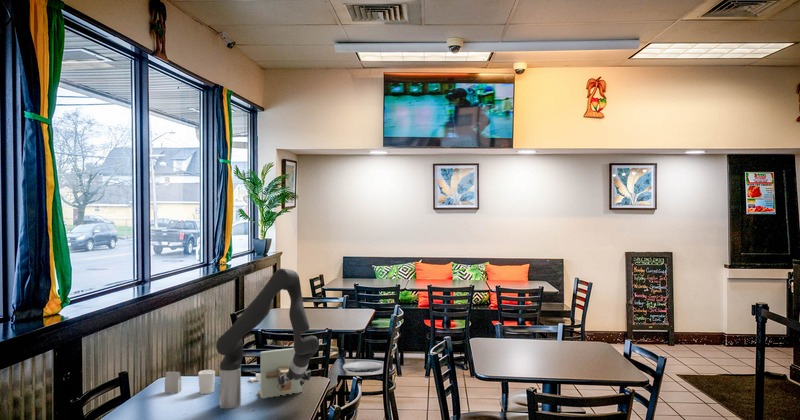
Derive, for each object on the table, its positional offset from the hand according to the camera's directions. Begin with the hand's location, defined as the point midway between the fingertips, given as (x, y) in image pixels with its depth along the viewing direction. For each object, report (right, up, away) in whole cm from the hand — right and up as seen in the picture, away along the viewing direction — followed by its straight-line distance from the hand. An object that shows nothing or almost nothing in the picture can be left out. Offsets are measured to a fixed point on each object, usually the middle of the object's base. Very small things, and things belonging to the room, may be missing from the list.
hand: (291, 385), depth 258 cm
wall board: (-9, -10, +17) cm, 22 cm away
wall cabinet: (-6, -6, +11) cm, 13 cm away
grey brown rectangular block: (-63, -10, +21) cm, 68 cm away
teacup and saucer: (-27, -11, +42) cm, 51 cm away
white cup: (-46, -10, +21) cm, 52 cm away
